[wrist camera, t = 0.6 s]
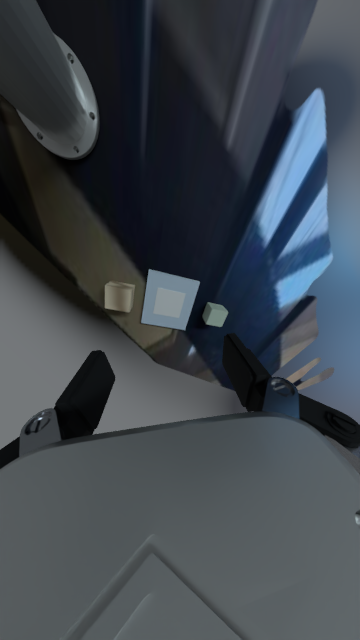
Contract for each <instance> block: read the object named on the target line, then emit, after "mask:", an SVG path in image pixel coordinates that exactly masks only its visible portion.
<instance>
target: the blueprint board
mask: <svg viewBox="0 0 360 640" xmlns="http://www.w3.org/2000/svg"><path fill="white" fill-rule="evenodd" d="M199 284H200V282H199V281H196V280H192V279H188V278H183V277H179V276H175V275H171V274H167V273H163V272H159V271H155V270H150V269H149V272H148V279H147V286H146V293H145V300H144V307H143V314H142V321H141V323H144V324H150V325H157V326H163V327H169V328H175V329H181V330H185V328H186V325H187V322H188V318H189V315H190V312H191V309H192V306H193V303H194V300H195V296H196V293H197V290H198V287H199Z"/></svg>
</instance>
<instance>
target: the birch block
mask: <svg viewBox="0 0 360 640" xmlns="http://www.w3.org/2000/svg"><path fill="white" fill-rule="evenodd" d="M134 290H135V285H131V284H126V283H121V282H117V281H110V282H109V283H107V284H106V285H105V308H107V309H112V310H118V311H124V312H130V310H131V308H132V306H133V300H134Z"/></svg>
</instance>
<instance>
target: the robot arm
mask: <svg viewBox="0 0 360 640" xmlns="http://www.w3.org/2000/svg"><path fill="white" fill-rule="evenodd" d="M0 94H1V95H2V96H3V97H4V98H5V99H6V100H7V101H8V102H10V103H11V104H12V105H13V106H14V107H15V108H16V110H17V112H18V114H19V116H20V118H21V120H22V121H23V123H24V124H25V126H26V127H27V129H28V130H29V131H30V132H31V134H32V135H33V136H34V137H35V138H36V139H37V140H38V141H39V142H40V143H41V144H42V145H43V146H44V147H45V148H47V149H48V150H49V151H51V152H52V153H54V154H56V155H57V156H59V157H62V158H65V159H69V160H78V159H82V158H84V157H86V156H87V155H88V154H89V153H90V152H91V151H92V150H93V148H94V147H95V144H96V142H97V139H98V134H99V111H98V105H97V101H96V97H95V94H94V91H93V88H92V85H91V83H90V81H89V79H88V77H87V74H86V72H85V71H84V69H83V67H82V65H81V63H80V61H79V60H78V58H77V57H76V56H75V54H74V53H73V51H72V50H71V49H70V48H69V47H68V46H67V45H66V44H65V43H64V41H63V40H61V39H60V38H59V37H58V36H56V35H55V34H54V33H53V32H52V30H51V28H50V27H49V25H48V23H47V21H46V19H45V17H44V15H43V13H42V12H41V10H40V8H39V6H38V4H37V2H36V0H0ZM94 118H95V120H93V119H94ZM42 138H43V139H42ZM78 151H79V153H77V152H78ZM222 363H223V366H224V368H225V370H226V372H227V375H228V377H229V379H230V381H231V383H232V385H233V387H234V389H235V391H236V393H237V395H238V397H239V399H240V402H241V404H242V406H243V407H246V409H247V411H248V412H245V413H237V414H230V415H221V416H214V417H207V418H200V419H193V420H186V421H180V422H173V423H166V424H160V425H153V426H146V427H140V428H133V429H127V430H120V431H114V432H107V433H101V434H94V435H92V434H93V431H94V429H96V428H97V426H98V424H99V421H100V418H101V416H102V413H103V410H104V407H105V405H106V403H107V400H108V397H109V395H110V392H111V389H112V386H113V384H114V381H115V375H114V373H113V370H112V368H111V366H110V364H109V362H108V360H107V357H106V355H105V353H104V352H102V351H101V350H97V351H92V352H91V353H90V354H89V356H88V357H87V359H86V360H85V362H84V363H83V364H82V366H81V367H80V369H79V370H78V372H77V373H76V375H75V376H74V377H73V379H72V380H71V382H70V383H69V385H68V386H67V387H66V389H65V390H64V392H63V393H62V395H61V396H60V398H59V399H58V400H57V402H56V404H55V405H56V406H55V407H54V409H52V408H50V409H45V410H43V411H41V412H39V413H37V414H36V415H34V416H33V417H32V418H31V419H30V420H28V422H27V423H26V424H25V425H24V426H23V428H22V430H21V433H20V437H18V438H17V439H15V440H14V441H12V442H11V443H9V444H8V445H7V446H5V447H4V448H2V449H1V450H0V640H360V425H359V424H358V423H357V422H356V421H355V420H353V419H352V418H351V417H349V416H348V415H346V414H344V413H342V412H340V411H338V410H335V409H333V408H331V407H328V406H326V405H324V404H322V403H320V402H317V401H315V400H313V399H310V398H308V397H306V396H303V395H301V394H299V393H298V390H297V388H296V387H295V386H294V385H293V384H292V383H291V382H290V381H288V380H286V379H284V378H281V377H271V375H270V374H269V373H268V372H267V370H266V369H265V368H264V367H263V365H262V364H261V363H260V362H259V360H258V359H257V358H256V357H255V355H254V354H253V353H252V352H251V350H249V349H248V348H246V347H245V346H244V344H243V343H242V342H241V341H240V339H239V338H238V337H237V335H236V334H235V333H231V334H227V335H226V336H224V346H223V359H222ZM251 411H254V412H251Z"/></svg>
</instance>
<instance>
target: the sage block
mask: <svg viewBox="0 0 360 640" xmlns="http://www.w3.org/2000/svg"><path fill="white" fill-rule="evenodd" d="M227 314H228V311H227V310H226V309H225V308H224V307H223V306H222V305H218V304H213V303H209V302H207V305H206V307H205V310H204V313H203V316H202V317H203V319H204V321H205V323H206V324H208V325H214V326H219V327H222V325H223V323H224V321H225V318H226V316H227Z"/></svg>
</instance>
